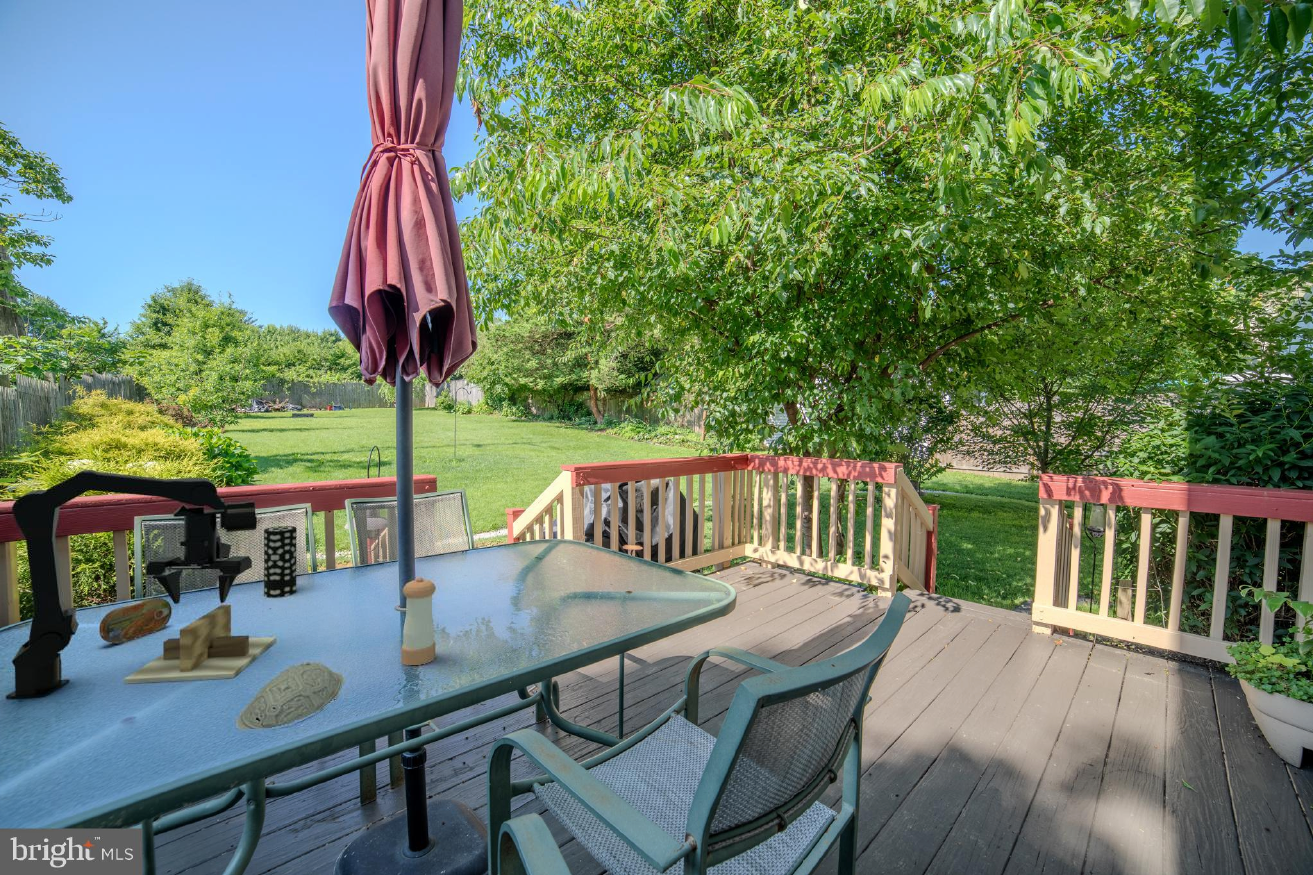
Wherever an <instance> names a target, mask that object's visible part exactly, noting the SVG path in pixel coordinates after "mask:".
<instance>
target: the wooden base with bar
mask: <svg viewBox="0 0 1313 875" xmlns="http://www.w3.org/2000/svg"><path fill="white" fill-rule="evenodd" d="M276 642H277V636H269V637H265V636H264V637H250V635H231V636H222V637H217V638H215V639H214V640H213V646H210V647H208V659H207V660H205V661H204V662H203V663H201V664H200V665H199V666H197V667H196V668H195V669H193V670H192V671H189V672H180V637H175V638H174V637H173V638H168V639H166V640H165V641H163V642H162V644H163V647H162V648H163V652H162V653H163V654H160V656H158V657H156V658H155V659H153V660H152V661H150V662H148V663H147V664H146V665H143V666H142V667H141V668H139V669H137V670H136V671H135V672H133V673H131V674H130V675H128V676H126V677H125V678H123V684H124V685H125V684H126V685H127V684H128V685H129V684H147V683H148V684H149V683H166V682H168V683H169V682H186V681H202V680H203V681H206V680H223V679H227V680H228V679H234V678H235V677H236V676H238V675H239V674H240V673H241V672H243V670H245V669H246V668H247V667H248V666H249V665H250V664H251V663H253V662H254V661H255V660H257V658H259V657H260V656H261V655H262V654H263V653H265V652H266V651H267V650H268V649H269V648H270V647H271V646H272V645H273V644H275V643H276Z"/></svg>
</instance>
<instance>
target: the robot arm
mask: <svg viewBox="0 0 1313 875" xmlns="http://www.w3.org/2000/svg"><path fill="white" fill-rule="evenodd" d="M88 491H89V492H90V491H94V492H105V493H114V494H115V493H116V494H127V495H137V496H146V497H159V498H164V499H167V500H171V501H176V502H178V503H183V504H181V505H180V506H179V508H177V509H176V510H175V511H174V512H173V517H175V518H178V517H179V518H180V517H183V540H182V541H180V542H179V544H180V545H179V546H180V547H183V558H181V557H180V556H161V557H158V558H155V559H153V560H150V561H148V563H146V566H144V567H145V568H144V569H145V570H144V571H145V572H144V573H145V576H151V578H152V580H156V581H158V583H159V584H160V585H161V587H162V588H163V589H164V590H165V591H166V592H167V595H168V596H169V598H170V599H171V600H172V602H173V604H175V605H177V604H180V601H181V581H180V580H181V576H182V573H183V571H184V570H219V572H220V573H221V574H219V575H218V577H217V579H218V593H219V594H218V596H219V601H220V604H223V603H225V602H226V601H227V598H228V596H229V593H230V591H231V589H232V585H233V584H234V582H235V580H236V578H237V577H238V576H239V575H241V574H243V573H245V571H248V570H249V569H252V568H253V560H252V558H251V557H250V556H249V555H239V556H238V555H235V556H233V555H232V556H230V554H231V549H232V544H229V543H224V542H222V541H221V537H220V535H217V515H219V528H220V529H223V530H224V531H225V532H226V533H232V532H233V533H234V532H247V531H248V532H249V531H256V530H257V523H258V522H257V518H258V516H257V515H256V514H257V513H256V503H255V501H254V500H249V501H248V500H247V501H244V502H243V501H242V502H228V503H227V502H225V499H224V498H221V496H220V495H219V494H218V489H217V487H216V485H215V484H214V482H213V481H212V480H210V479H209V478H206V477H181V478H180V477H179V478H158V477H150V476H149V477H148V476H140V475H132V474H131V475H130V474H123V473H122V474H120V473H112V472H103V471H96V470H94V469H84V470H80V471H79V472H77V473H76V474H75V475H73V476H71V477H69V478H68V479H65V480H63V481H61V482H59V483H57V484H55V485H53V486H51V487H49V488H47V489H38V490H32V491H29V492H26V493H25V494H24V495H22V496H20V497H19V498H18V499H16V501H15V502H13V504H12V508H11V512H12V515H13V518H14V520H15V522H16V525H17V528H18V530H19V531H20V533H21V535H22V537H24V540H25V544H26V551H27V559H28V568H29V575H30V576H29V577H30V583H31V584H30V585H31V592H32V594H31V595H32V601H33V603H32V604H33V608H34V609H33V614H32V620H31V624H30V629H29V636H28V637H29V638H28V640H27V641H25V642H24V643H23V644H22V645H21V646H20V647H19V649H18V650H17V653H16V654H15V656H14V658H13V659H12V661H11V662H12V664H13V666H14V691H12V692H10V693H8V694H6V695H5V699H22V698H23V699H24V698H42V697H46V696H47V695H49V694H51V693H53V692H54V691H57V690H58V689H60V688H62V687H64V686H65V685H67V684H68V683H70V681H71V680H70V679H69V678H68V679H62V677H63V674H62V659H61V652H62V651H63V650H65V649H66V647H68V646H69V644H70V642H71V640H72V637H73V636H75V634H76V632H77V630H78V627H79V625H80V624H79V622H78V621H77V619H76V618H77V617H76V615H77V607H76V606H73V607H70V608H67V606H66V604H65V603H64V599H63V593H62V584H61V575H60V566H59V559H58V558H59V557H58V552H57V551H58V550H57V542H56V531H57V526H58V521H59V515H60V508H61V506H63V505H64V504H66V503H69V502H71V501H72V500H74V499H76V498H77V497H80V496H81V495H83V494H85V493H87V492H88ZM186 504H187V505H189V506H193V507H187V506H186ZM205 507H209V508H210V509H208V510H205ZM222 559H224V560H222Z"/></svg>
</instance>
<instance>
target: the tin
mask: <svg viewBox="0 0 1313 875" xmlns="http://www.w3.org/2000/svg"><path fill="white" fill-rule="evenodd" d="M172 610H173V609H172V606H171V603H170V602H169V601H168V600H166V599H165V598H162V597H159V598H158V597H156V598H148V599H144V600H141V601H138V602H133V603H130V604H127V605H124V606H121V607H117V608H115V609H112V610H111V611H109V612H108V613H106V614H105V615H104V616H103V618H102V619H101V620H100V624H99V631H98V632H99V635H100V638H101V639H102V640H103V641H104V642H107V643H111V644H116V645H117V644H118V645H119V644H120V645H123V644H125V642H126V643H128V641H129V642H131V641H130V640H132V641H134V639H135V638H137V639H140V638H141V637H140V636H143V637H145V636H144V635H146V636H148V635H147V634H149V633H151V634H153V632H154V631H157V632H159V631H160V630H159V629H161V630H162V629H164V628H165V627H166V626H167V624H168V623H169V621H170V619H171V617H172V614H173V612H172ZM158 630H159V631H158ZM154 633H155V632H154ZM149 635H150V634H149ZM139 637H140V638H139ZM135 640H136V639H135Z"/></svg>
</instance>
